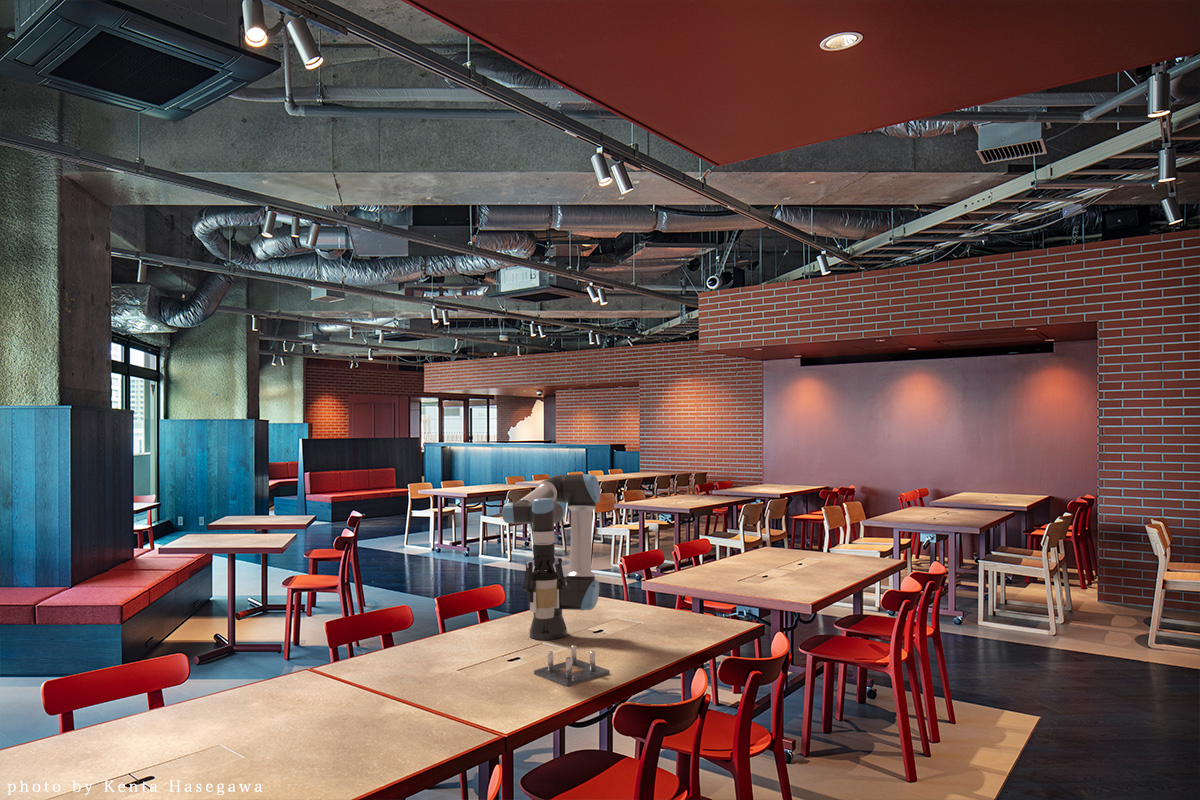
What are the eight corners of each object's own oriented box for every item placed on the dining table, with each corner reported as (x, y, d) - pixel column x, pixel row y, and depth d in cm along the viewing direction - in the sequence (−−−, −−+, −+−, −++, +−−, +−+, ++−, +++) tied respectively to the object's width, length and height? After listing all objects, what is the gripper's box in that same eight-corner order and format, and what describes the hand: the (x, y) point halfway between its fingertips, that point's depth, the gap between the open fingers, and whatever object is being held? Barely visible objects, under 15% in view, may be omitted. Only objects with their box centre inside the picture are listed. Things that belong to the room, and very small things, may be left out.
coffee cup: (561, 613, 254) (560, 570, 255) (556, 620, 244) (555, 575, 245) (534, 613, 255) (533, 570, 256) (527, 620, 245) (526, 575, 247)
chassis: (576, 662, 255) (575, 641, 256) (609, 673, 241) (609, 651, 242) (534, 673, 244) (533, 652, 244) (566, 686, 230) (566, 663, 230)
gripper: (562, 539, 261) (563, 603, 259) (511, 545, 248) (512, 612, 246) (575, 541, 255) (576, 606, 254) (523, 547, 242) (524, 616, 240)
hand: (544, 609), depth 250 cm, fingers closed on coffee cup, 9 cm apart
